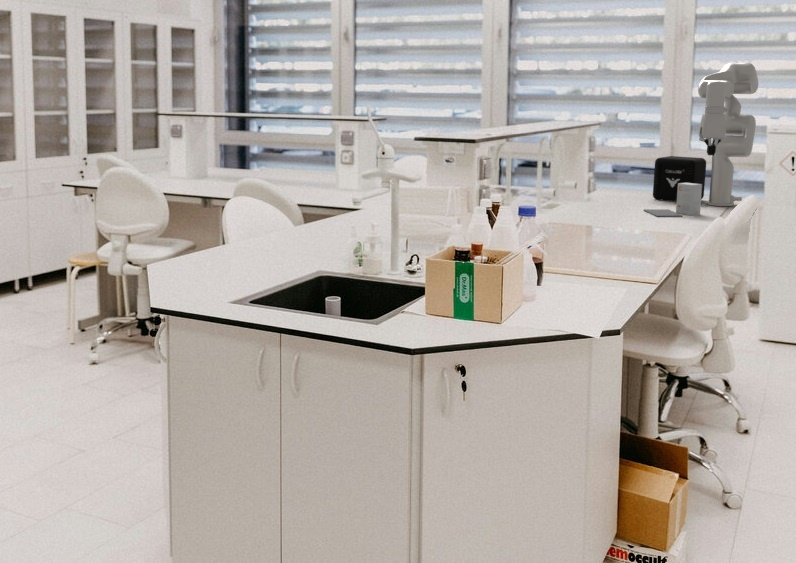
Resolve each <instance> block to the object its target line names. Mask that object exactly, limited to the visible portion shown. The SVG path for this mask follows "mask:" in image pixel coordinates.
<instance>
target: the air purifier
mask: <svg viewBox="0 0 796 563" xmlns="http://www.w3.org/2000/svg"><path fill="white" fill-rule="evenodd" d="M706 169H707V160H706V159H705V158H703V157H691V156H690V157H689V156H677V155H676V156H675V155H674V156H673V155H668V156H663V157H658V158H656V159H655V161H654V170H653V171H654V172H653V188H652V197H653V198H654V200H657V201H667V202H676V201H677V190H678V183H695V184H702V193H701V200H702V199H703V198H704V196H705V187H706V186H705V184H706V172H707V170H706Z"/></svg>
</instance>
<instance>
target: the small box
mask: <svg viewBox="0 0 796 563" xmlns="http://www.w3.org/2000/svg"><path fill="white" fill-rule="evenodd" d="M701 193H702V184H695V183H678V190H677V202H676V207H675V209H676V210H675V212H676V213H678V214H680V215H686V216H687V215H688V216H696V215H701V204H702V199H701Z"/></svg>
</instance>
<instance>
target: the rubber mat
mask: <svg viewBox="0 0 796 563" xmlns="http://www.w3.org/2000/svg"><path fill="white" fill-rule="evenodd" d="M643 212H645V213H648V214H649V215H651V216H654V217H656V218H683V215H684V214H678V213H676V211H673V210H670V209H668V208H667V209H665V208H664V209H663V208H662V209H659V208H658V209H657V208H655V209H652V208H651V209H650V208H649V209H643Z"/></svg>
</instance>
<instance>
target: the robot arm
mask: <svg viewBox="0 0 796 563" xmlns="http://www.w3.org/2000/svg"><path fill="white" fill-rule="evenodd" d="M758 88H759V78H758V74H757V69H756V67H755V66H754V64H752V63H750V62H730V63H726V64H724V65H723V66H722V67H721V69H720V70H719V71H718V72H715V73H710V74H708V75H706V76H704V77H703V78H702V79H701V81H700V82H699V84H698V88H697V92H698V96H699V97H700V98H702V99H705V104H704V105H705V107H704V108H705V110H704V114H702V116H701V119H700V124H699V130H698V137H699V139H698V140H699V141H700V142H704V143H705V145H706V154H707V155H708V156H711V172H710V182H709V185H710V186H709V196H708V197H709V198H708V200H706V201H705V202H704V204H705V205H707V204H708V206H713V207H716V206H717V207H732V206H735V201H737V202H742V200H743V197H742V196H735V195H733V194H732V192H733V183H734V182H733V180H734V169H735V168H734V163H733V162H732V160H731V159H730V158H747V157H750V156H751V154H752V150H753V145H754V139H755V134H756V126H757V125H756V124H757V123H756V117H754V115H752V114H750V113H749V114H745V113H741V109H742V105H741V102H740V101H739V99H738V98H737V97H736V96H735V95H752V94H755V93H757V91H758V90H759V89H758Z"/></svg>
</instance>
